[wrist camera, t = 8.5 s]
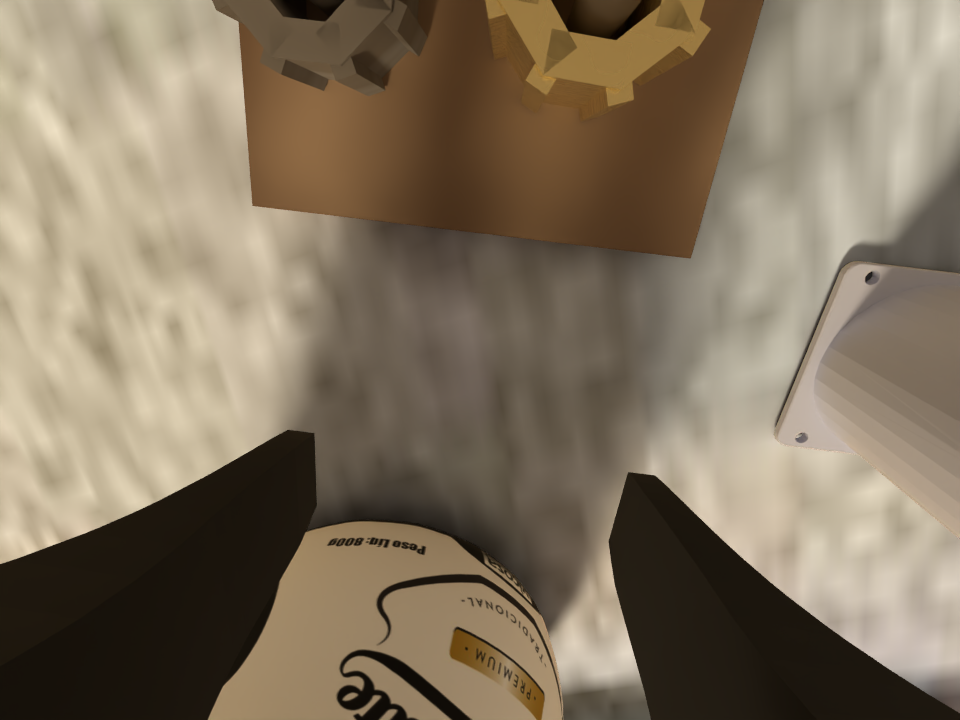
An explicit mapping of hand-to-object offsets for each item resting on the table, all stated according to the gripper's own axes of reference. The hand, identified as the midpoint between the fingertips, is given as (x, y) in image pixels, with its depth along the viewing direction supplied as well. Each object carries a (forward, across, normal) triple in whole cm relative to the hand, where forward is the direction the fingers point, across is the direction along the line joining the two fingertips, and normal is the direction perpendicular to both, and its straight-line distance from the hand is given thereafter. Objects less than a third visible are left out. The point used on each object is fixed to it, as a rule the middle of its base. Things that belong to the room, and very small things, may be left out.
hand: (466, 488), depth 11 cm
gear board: (+10, +1, -10) cm, 14 cm away
